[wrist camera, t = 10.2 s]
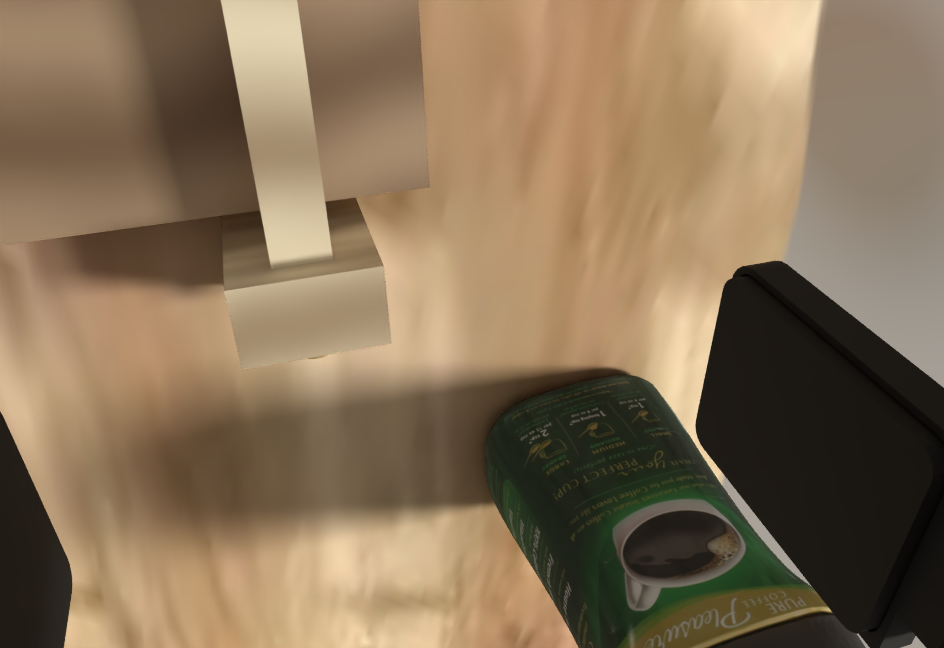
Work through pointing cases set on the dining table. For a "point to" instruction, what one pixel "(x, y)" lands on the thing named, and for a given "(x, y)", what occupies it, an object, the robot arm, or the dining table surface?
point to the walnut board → (188, 111)
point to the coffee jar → (641, 528)
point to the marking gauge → (292, 212)
